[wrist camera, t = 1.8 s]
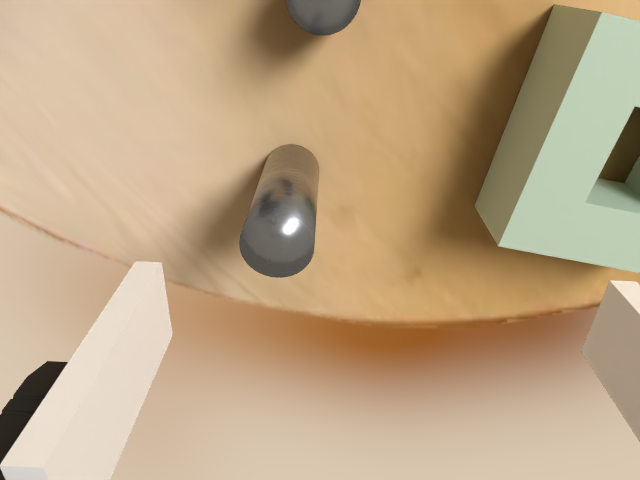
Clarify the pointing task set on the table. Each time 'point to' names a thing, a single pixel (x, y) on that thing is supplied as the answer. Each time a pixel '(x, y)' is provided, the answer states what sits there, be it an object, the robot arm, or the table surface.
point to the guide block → (570, 146)
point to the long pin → (282, 214)
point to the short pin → (323, 14)
